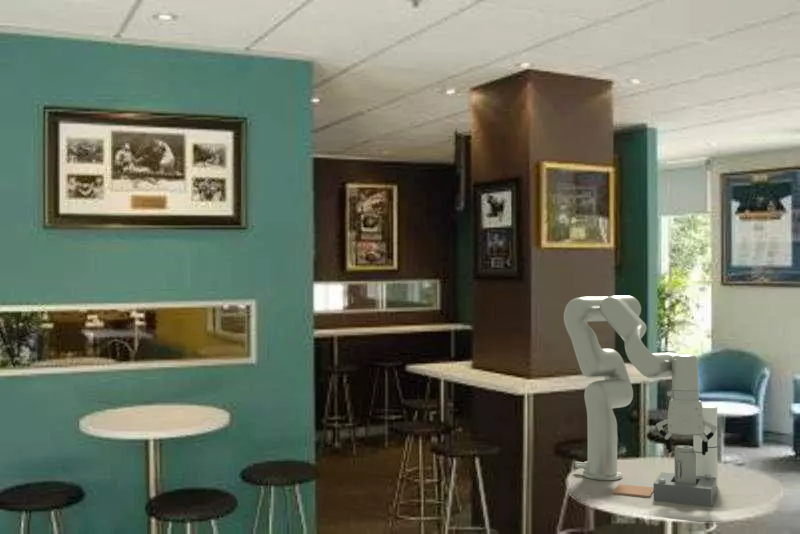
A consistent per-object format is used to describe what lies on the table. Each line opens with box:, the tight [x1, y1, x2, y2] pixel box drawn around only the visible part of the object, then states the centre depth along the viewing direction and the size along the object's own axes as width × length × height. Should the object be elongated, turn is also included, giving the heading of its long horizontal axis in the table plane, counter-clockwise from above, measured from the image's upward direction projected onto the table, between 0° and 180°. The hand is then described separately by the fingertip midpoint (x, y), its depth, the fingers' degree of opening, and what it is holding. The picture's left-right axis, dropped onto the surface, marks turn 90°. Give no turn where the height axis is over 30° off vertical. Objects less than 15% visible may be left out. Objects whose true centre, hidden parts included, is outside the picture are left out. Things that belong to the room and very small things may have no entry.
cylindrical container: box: [692, 404, 719, 488], centre depth 265 cm, size 7×7×25 cm
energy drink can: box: [674, 444, 696, 484], centre depth 251 cm, size 6×6×15 cm
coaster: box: [611, 483, 654, 499], centre depth 257 cm, size 11×11×1 cm
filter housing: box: [653, 472, 717, 508], centre depth 251 cm, size 16×16×6 cm
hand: (686, 453), depth 250 cm, fingers open, 9 cm apart
